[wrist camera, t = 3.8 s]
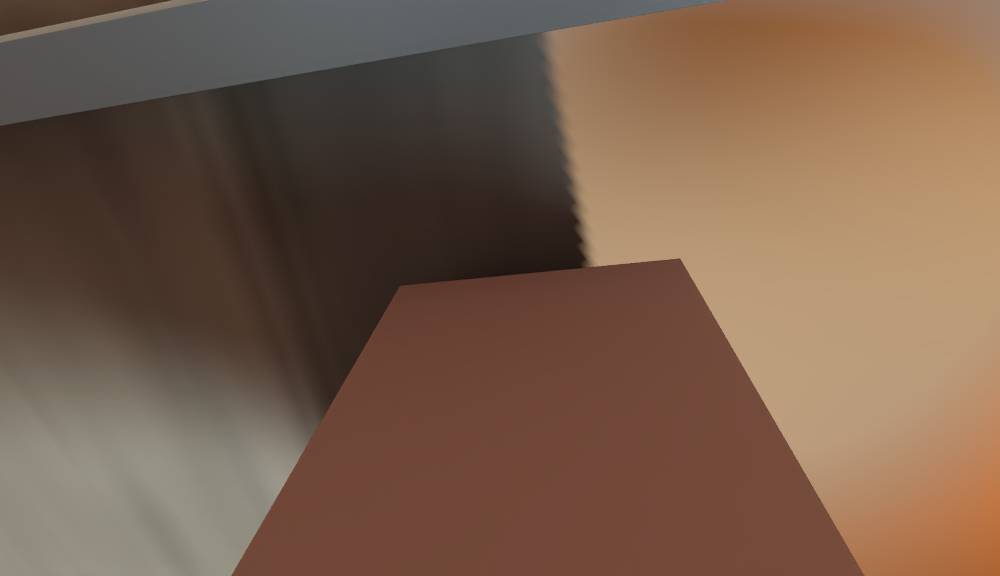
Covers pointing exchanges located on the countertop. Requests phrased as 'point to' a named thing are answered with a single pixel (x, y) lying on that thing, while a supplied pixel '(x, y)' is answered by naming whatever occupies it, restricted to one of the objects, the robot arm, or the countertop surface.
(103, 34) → the price rail
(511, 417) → the salmon pink block
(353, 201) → the countertop surface
